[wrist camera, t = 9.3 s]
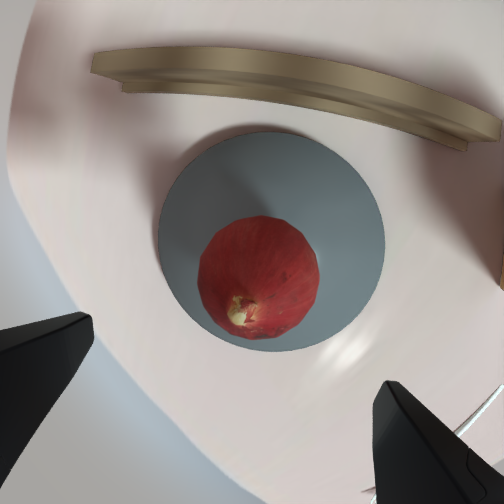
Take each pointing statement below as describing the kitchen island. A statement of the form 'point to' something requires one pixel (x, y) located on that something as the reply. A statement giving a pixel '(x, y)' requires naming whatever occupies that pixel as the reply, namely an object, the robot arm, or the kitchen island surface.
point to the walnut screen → (300, 88)
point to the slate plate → (283, 207)
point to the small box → (502, 277)
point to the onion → (258, 277)
